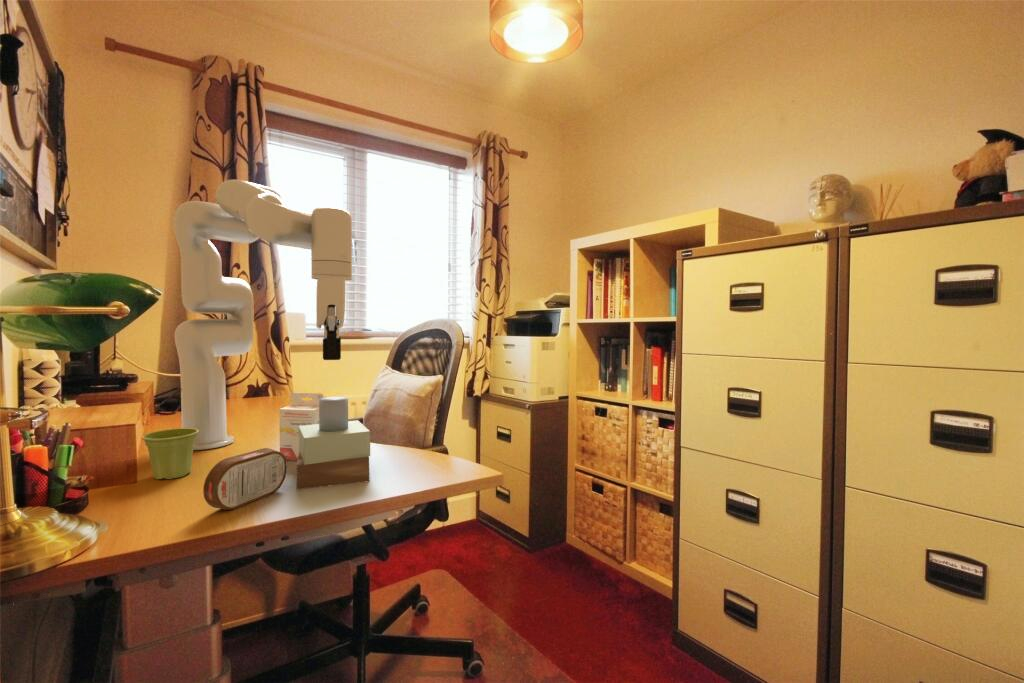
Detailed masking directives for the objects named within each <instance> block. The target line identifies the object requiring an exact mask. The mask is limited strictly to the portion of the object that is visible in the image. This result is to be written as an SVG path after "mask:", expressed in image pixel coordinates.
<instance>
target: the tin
mask: <svg viewBox="0 0 1024 683" xmlns="http://www.w3.org/2000/svg"><path fill="white" fill-rule="evenodd" d="M287 461H288V460H286V458H285V456H284V455H283V454H282V453H281V452H280V450H279V451H278V450H275V449H272V448H268V447H265V448H259V449H256V450H253V451H248V452H245V453H241V454H238V455H234V456H233V455H232V456H229V457H226V458H224V459H222V460H220V461H218V462H217V463H216V464H215V465H214V466H212V468H211V469H210V471H209V472H208V474H207V475H206V476H205V480H204V484H203V490H202V491H203V492H202V493H203V498H204V500H205V502H206V504H207V505H209V506H210V507H212V508H215V509H220V510H224V511H231V510H235V509H237V508H240V506H241V507H243V506H246V505H248V504H250V503H253V502H255V501H258V500H261V499H263V498H266V497H268V496H271V495H273V494H274V493H276V492H277V491H278V490H279V489H281V487H282V485H283V483H284V482H285V479H286V477H287V469H288V463H287Z"/></svg>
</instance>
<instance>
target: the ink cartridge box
mask: <svg viewBox="0 0 1024 683" xmlns="http://www.w3.org/2000/svg"><path fill="white" fill-rule="evenodd" d="M306 397H307V398H308V399H312V400H307V399H306V400H305V398H306ZM322 398H324V394H323V393H322V392H321V393H319V392H318V393H317V392H316V393H313V392H291V393H290V405H287V406H285V407H281V408H279V452H281V453H282V454H283V455H284V456H285V458H286V460H287V461H295V460H296V462H297V460H298V455H299V426H303V425H314V424H319V399H322Z"/></svg>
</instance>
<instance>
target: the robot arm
mask: <svg viewBox="0 0 1024 683" xmlns="http://www.w3.org/2000/svg"><path fill="white" fill-rule="evenodd" d="M215 199H216V202H217V203H214V202H209V201H208V202H207V201H202V200H201V201H200V200H189V201H185V202H182V203H181V204H180V205H179V206H178V207H177V209H176V212H175V214H174V219H173V220H174V221H173V229H174V235H175V237H176V242H177V245H178V248H179V252H180V262H181V263H180V270H181V271H180V273H181V275H180V277H181V279H180V280H181V285H180V286H181V301H182V305H183V307H184V308H185V310H186V311H188V312H190V313H194V314H195V313H196V314H209V315H211V314H214V315H218V314H219V315H223V314H225V315H226V317H227V318H225V319H224V318H223V319H222V318H220V319H219V318H194V319H187V320H185V321H183V322H181V323H179V324H178V325H177V326H176V329H175V331H174V335H173V336H174V342H175V347H176V351H177V356H178V362H179V371H180V372H179V373H180V374H179V375H180V376H179V378H180V399H181V400H180V403H181V404H180V405H181V408H180V409H181V428H194V429H198V430H199V432H198V433H197V434H196V439H195V441H194V447H193V451H200V450H203V451H204V450H210V449H217V448H221V447H224V446H228V445H230V444H232V443H233V442H234V441H235V439H234V438H235V437H234V436H233V435H231V434H227V431H228V430H227V429H228V428H227V393H226V392H227V390H226V389H227V388H226V386H227V385H226V384H227V383H226V382H227V381H226V373H225V370H224V369H223V366H221V364H220V363H219V362H218V360H217V359H216V357H227V356H240V355H245V354H246V353H248V352H249V351H250V350H251V349H252V347H253V343H254V333H255V330H254V328H255V326H254V318H255V317H254V312H255V310H254V309H255V308H254V306H255V305H254V304H255V303H254V302H255V301H254V294H253V291H252V289H251V286H250V284H249V283H247V281H245V280H243V279H241V278H237V277H229V276H223V274H222V273H223V271H222V268H223V267H222V266H223V265H222V263H223V262H222V261H223V260H222V257H221V254H220V253H219V251H218V249H217V247H215V245H214V244H213V243H212V242H211V240H217V241H223V242H229V243H236V244H237V243H238V244H252V243H254V242H256V241H257V240H259V239H262V240H264V241H266V242H269V243H271V244H275V245H279V246H285V247H294V248H299V249H304V250H311V252H310V253H311V258H310V259H311V279H312V280H317V282H316V305H315V306H316V326H315V327H316V328H317V329H322V326H323V338H322V359H323V361H339V360H341V358H342V355H341V354H342V352H341V351H342V343H341V340H342V339H341V336H340V329H342V328H343V327H344V323H345V322H344V321H345V312H346V281H352V280H353V279H352V278H353V276H352V274H353V273H352V272H353V271H352V269H353V268H352V264H353V262H352V260H353V258H352V256H353V254H352V253H353V252H352V251H353V249H352V246H353V245H352V244H353V241H352V240H353V239H352V236H353V235H352V233H353V230H352V227H353V226H352V224H353V223H352V215H351V213H350V212H349V211H348V210H345V209H343V208H339V207H331V206H330V207H329V206H321V207H316V208H314V209H313V211H312V212H311V211H307V210H301V209H298V208H294V207H289V206H286V202H285V198H284V197H283V195H282V194H281V192H280V191H279V190H276V189H275V188H273V187H270V186H266V185H263V184H258V183H255V182H250V181H246V180H242V179H227V180H225V181H222V182H221V183H220V184H219V185H218V186H217V188H216V190H215ZM210 239H211V240H210Z"/></svg>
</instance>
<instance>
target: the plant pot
mask: <svg viewBox="0 0 1024 683" xmlns="http://www.w3.org/2000/svg"><path fill="white" fill-rule="evenodd" d="M198 432H199V430H198V429H194V428H182V427H180V428H170V429H163V430H162V429H161V430H157V431H151V432H149V433H148V432H147V433H146V434H143V435H142V436H141V439H142V440H143V441H144V443H145V446H146V447H147V451H148V456H149V461H150V464H151V470H152V475H153V478H154V479H155V480H158V479H160V480H162V479H166V480H172V479H173V478H174V479H177V478H182V477H184V476H187V474H190V473H191V471H192V463H193V454H194V450H193V447H194V441H195V439H196V434H197V433H198ZM174 479H173V480H174Z"/></svg>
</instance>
